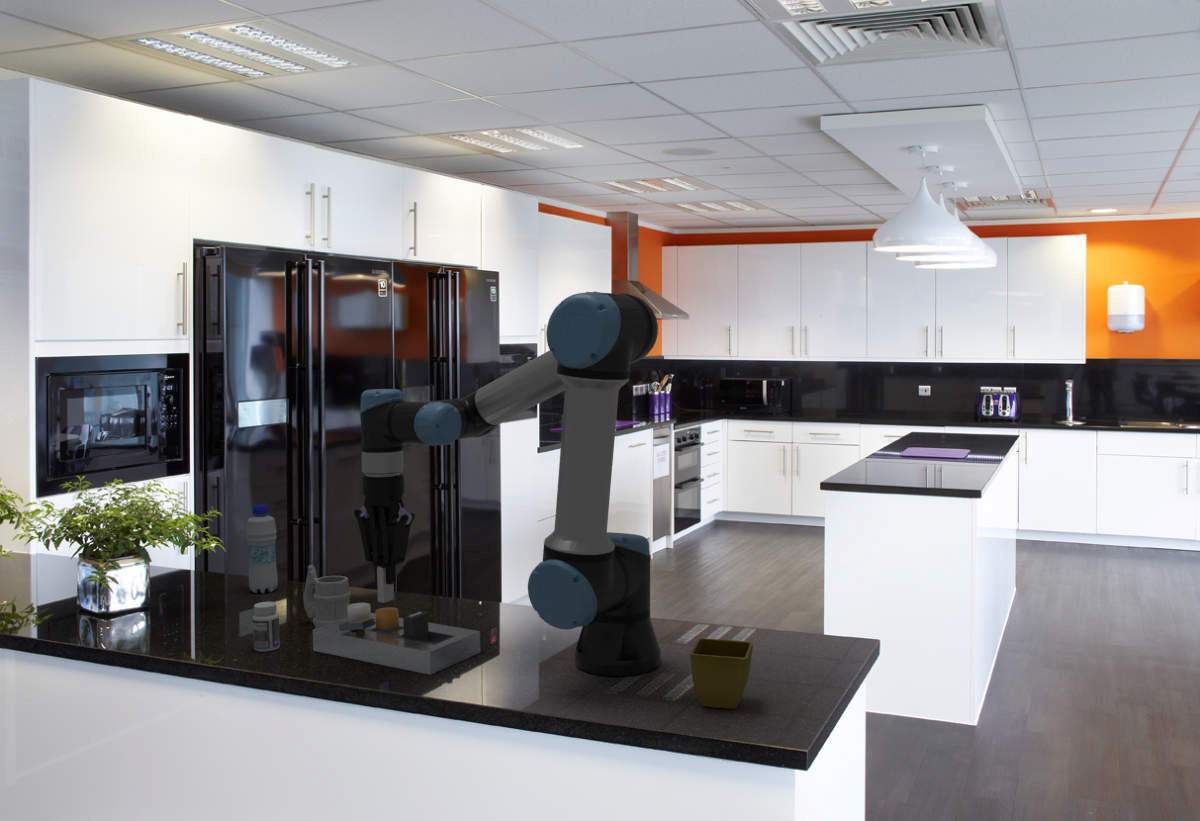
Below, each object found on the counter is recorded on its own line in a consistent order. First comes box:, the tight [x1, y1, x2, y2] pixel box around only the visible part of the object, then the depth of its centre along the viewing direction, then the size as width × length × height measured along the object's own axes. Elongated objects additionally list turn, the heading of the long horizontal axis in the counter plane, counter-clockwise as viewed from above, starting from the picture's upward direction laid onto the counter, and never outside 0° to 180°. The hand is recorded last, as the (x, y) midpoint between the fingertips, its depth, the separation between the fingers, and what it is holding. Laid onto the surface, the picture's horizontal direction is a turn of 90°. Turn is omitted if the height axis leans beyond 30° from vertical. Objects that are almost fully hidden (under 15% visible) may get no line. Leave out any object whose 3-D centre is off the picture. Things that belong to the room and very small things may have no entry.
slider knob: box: [402, 611, 429, 641], centre depth 189 cm, size 2×4×5 cm, turn 149°
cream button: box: [347, 602, 372, 621], centre depth 196 cm, size 4×4×3 cm
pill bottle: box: [251, 601, 281, 653], centre depth 195 cm, size 5×5×8 cm
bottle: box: [245, 504, 279, 594], centre depth 238 cm, size 7×7×20 cm
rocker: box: [339, 618, 375, 631], centre depth 190 cm, size 6×3×1 cm, turn 59°
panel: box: [312, 612, 481, 675], centre depth 192 cm, size 28×14×5 cm, turn 59°
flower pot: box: [689, 637, 754, 710], centre depth 163 cm, size 9×9×9 cm
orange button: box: [374, 606, 400, 630], centre depth 193 cm, size 4×4×3 cm
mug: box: [302, 564, 352, 629], centre depth 209 cm, size 8×12×12 cm, turn 57°
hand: (385, 600), depth 193 cm, fingers closed
